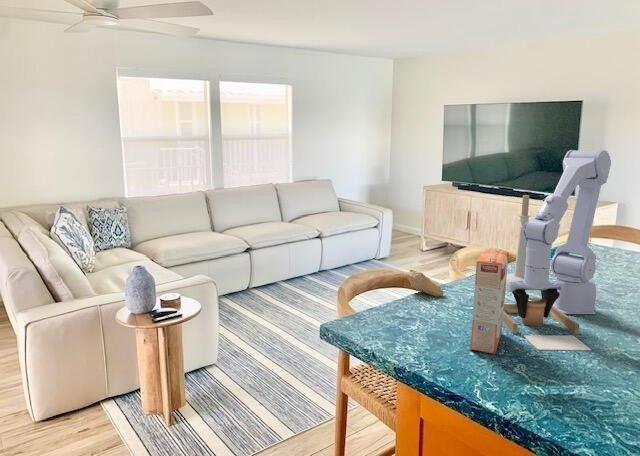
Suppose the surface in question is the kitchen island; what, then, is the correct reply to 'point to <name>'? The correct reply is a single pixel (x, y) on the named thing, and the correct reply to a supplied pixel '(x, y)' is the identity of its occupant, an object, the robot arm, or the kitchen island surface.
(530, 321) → the terracotta pot
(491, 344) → the cracker box
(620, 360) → the kitchen island surface
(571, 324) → the wooden u-shaped frame
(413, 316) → the kitchen island surface
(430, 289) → the pottery oil lamp
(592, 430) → the kitchen island surface
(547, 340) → the potting tile
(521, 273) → the candlestick
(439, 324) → the kitchen island surface
